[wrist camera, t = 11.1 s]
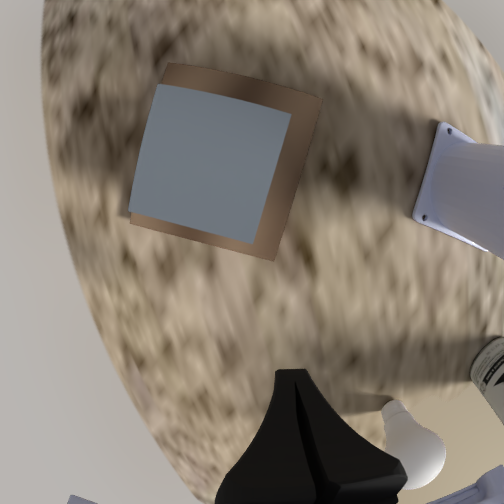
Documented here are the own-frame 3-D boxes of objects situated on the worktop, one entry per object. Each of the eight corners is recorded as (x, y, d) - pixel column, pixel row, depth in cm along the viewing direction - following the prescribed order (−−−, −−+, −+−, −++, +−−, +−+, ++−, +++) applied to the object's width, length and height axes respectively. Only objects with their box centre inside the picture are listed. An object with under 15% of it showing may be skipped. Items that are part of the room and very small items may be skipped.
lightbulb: (412, 410, 27) (446, 483, 17) (362, 427, 28) (387, 506, 17) (417, 375, 25) (463, 454, 15) (362, 393, 26) (395, 484, 16)
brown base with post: (319, 101, 18) (345, 84, 12) (272, 255, 21) (279, 294, 16) (172, 66, 17) (143, 39, 11) (136, 219, 20) (97, 245, 15)
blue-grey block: (278, 126, 17) (291, 114, 11) (253, 212, 19) (252, 244, 13) (189, 104, 17) (157, 83, 11) (167, 189, 19) (128, 211, 12)
